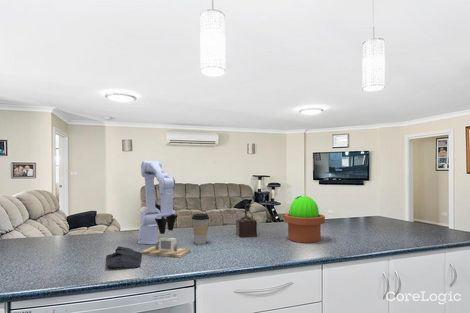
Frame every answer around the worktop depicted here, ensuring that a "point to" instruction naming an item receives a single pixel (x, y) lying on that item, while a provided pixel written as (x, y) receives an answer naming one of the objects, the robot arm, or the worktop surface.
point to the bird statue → (246, 225)
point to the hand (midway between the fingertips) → (166, 231)
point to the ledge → (166, 252)
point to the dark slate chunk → (124, 258)
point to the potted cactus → (304, 220)
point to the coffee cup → (200, 228)
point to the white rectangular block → (167, 244)
